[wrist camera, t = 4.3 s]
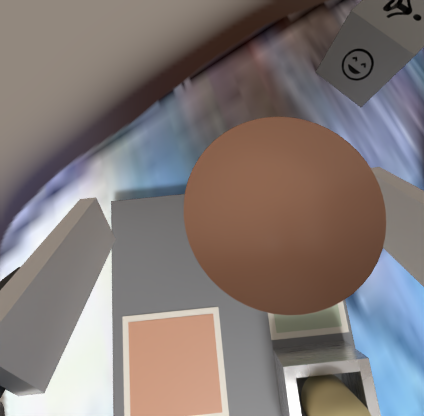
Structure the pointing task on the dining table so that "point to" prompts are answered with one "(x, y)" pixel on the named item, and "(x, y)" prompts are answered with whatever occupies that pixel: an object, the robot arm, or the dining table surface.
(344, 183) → the ball
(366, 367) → the button housing
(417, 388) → the dining table surface
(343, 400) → the button
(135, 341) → the grey flat square panel
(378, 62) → the grey smiley picture cube
